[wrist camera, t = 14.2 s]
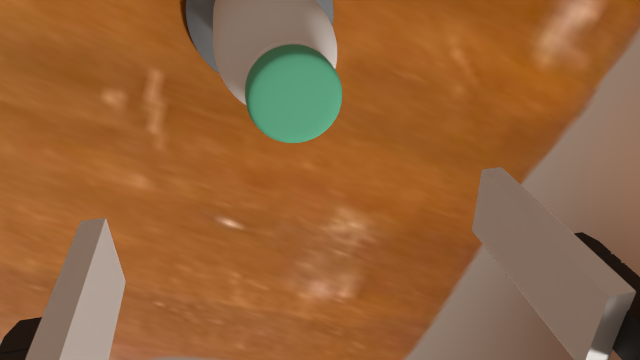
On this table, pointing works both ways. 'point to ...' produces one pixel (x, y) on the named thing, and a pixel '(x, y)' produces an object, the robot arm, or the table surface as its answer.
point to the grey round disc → (202, 25)
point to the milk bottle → (279, 64)
